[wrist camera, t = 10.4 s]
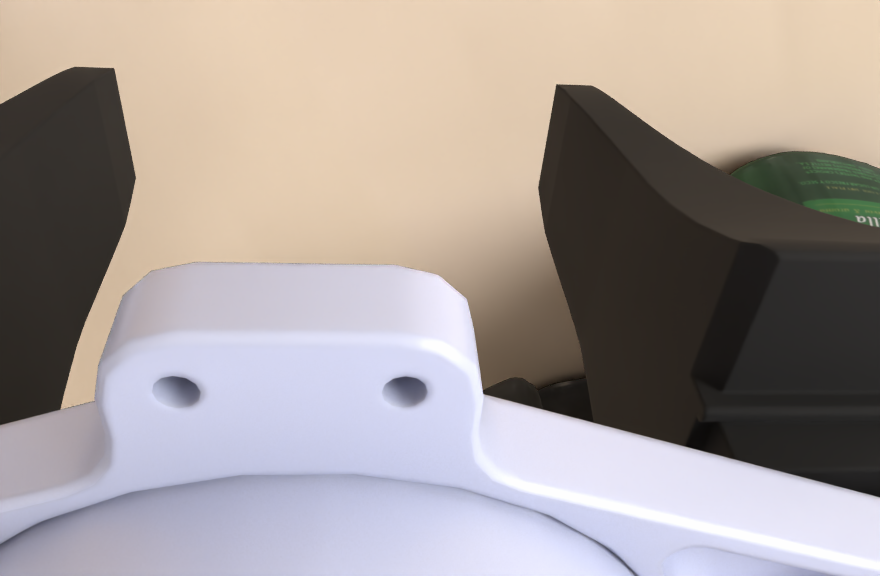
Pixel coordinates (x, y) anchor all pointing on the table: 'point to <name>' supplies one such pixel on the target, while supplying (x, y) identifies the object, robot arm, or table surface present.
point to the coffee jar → (819, 183)
